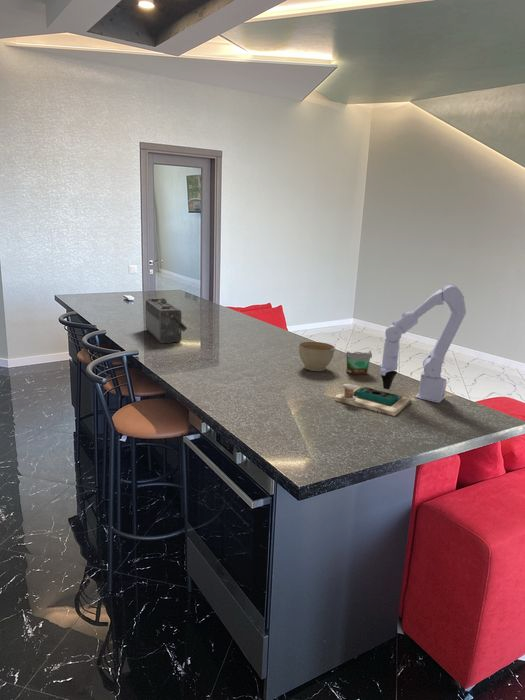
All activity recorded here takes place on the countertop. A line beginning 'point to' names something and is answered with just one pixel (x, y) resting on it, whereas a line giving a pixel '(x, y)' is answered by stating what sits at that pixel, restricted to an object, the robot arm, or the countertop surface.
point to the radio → (164, 320)
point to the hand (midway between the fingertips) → (386, 388)
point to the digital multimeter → (377, 395)
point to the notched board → (350, 399)
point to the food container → (358, 363)
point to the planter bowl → (316, 355)
